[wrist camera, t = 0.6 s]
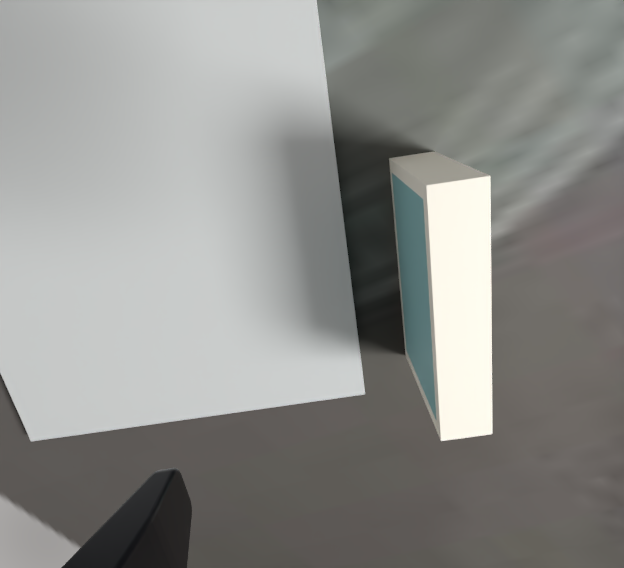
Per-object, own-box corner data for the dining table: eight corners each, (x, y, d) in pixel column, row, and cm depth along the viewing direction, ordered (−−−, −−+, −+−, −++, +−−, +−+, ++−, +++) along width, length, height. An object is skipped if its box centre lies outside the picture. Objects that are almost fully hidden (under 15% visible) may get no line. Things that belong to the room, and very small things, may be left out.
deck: (443, 348, 22) (492, 433, 17) (405, 354, 23) (440, 441, 17) (433, 151, 19) (490, 175, 14) (388, 157, 19) (425, 185, 14)
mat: (364, 389, 23) (365, 394, 23) (35, 435, 23) (31, 441, 23) (299, -131, 16) (299, -137, 15) (-181, -51, 16) (-192, -54, 16)
